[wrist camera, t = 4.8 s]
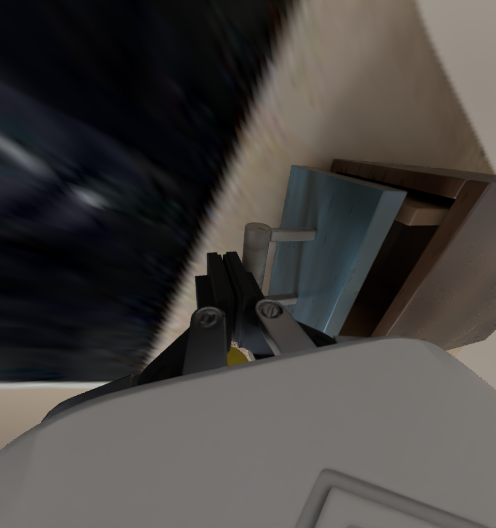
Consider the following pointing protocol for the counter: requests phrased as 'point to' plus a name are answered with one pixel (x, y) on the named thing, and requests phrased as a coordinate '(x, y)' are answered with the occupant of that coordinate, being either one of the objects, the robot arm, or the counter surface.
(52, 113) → the counter surface
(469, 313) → the cabinet
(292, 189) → the drawer
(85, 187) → the counter surface
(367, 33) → the counter surface
